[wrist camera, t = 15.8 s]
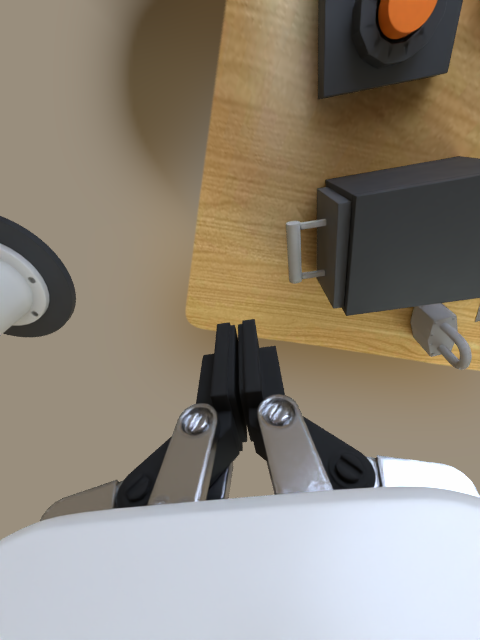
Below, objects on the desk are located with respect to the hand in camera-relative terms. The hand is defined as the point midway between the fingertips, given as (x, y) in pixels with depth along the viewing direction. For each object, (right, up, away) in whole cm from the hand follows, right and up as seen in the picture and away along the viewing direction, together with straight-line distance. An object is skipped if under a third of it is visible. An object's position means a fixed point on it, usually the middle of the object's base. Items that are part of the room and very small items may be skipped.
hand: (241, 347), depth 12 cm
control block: (+12, +28, +12) cm, 32 cm away
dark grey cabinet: (+18, +13, +22) cm, 31 cm away
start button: (+12, +25, +9) cm, 30 cm away
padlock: (+29, +2, +30) cm, 42 cm away
